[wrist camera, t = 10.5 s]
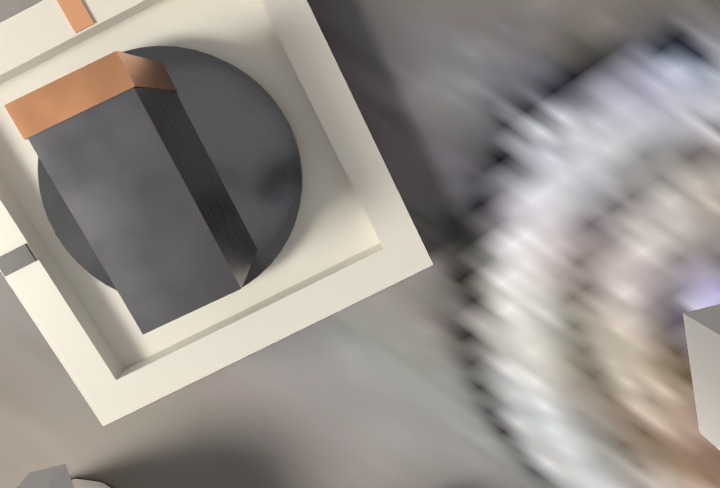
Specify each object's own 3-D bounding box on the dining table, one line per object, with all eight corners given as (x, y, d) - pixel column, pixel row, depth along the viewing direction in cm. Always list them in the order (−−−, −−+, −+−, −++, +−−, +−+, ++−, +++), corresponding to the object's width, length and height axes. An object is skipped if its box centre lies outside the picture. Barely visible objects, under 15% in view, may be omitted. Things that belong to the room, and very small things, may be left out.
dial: (342, 234, 34) (350, 277, 26) (130, 334, 34) (69, 408, 26) (232, 4, 31) (200, -33, 23) (0, 116, 31) (-115, 120, 23)
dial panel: (259, -94, 31) (253, -111, 29) (425, 253, 36) (433, 265, 33) (-89, 87, 32) (-124, 86, 29) (117, 404, 36) (102, 427, 34)
